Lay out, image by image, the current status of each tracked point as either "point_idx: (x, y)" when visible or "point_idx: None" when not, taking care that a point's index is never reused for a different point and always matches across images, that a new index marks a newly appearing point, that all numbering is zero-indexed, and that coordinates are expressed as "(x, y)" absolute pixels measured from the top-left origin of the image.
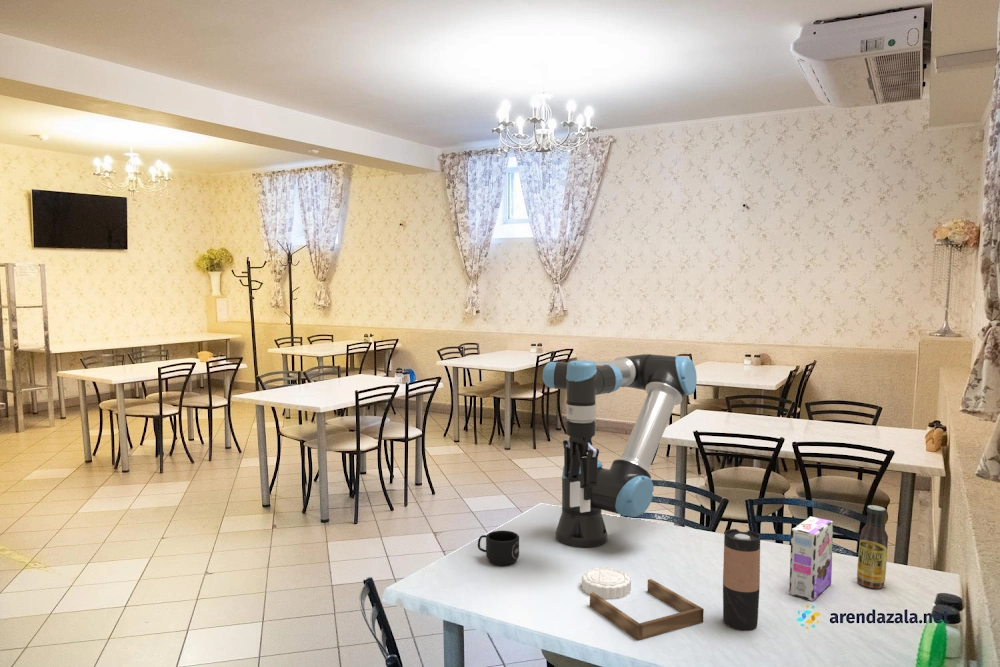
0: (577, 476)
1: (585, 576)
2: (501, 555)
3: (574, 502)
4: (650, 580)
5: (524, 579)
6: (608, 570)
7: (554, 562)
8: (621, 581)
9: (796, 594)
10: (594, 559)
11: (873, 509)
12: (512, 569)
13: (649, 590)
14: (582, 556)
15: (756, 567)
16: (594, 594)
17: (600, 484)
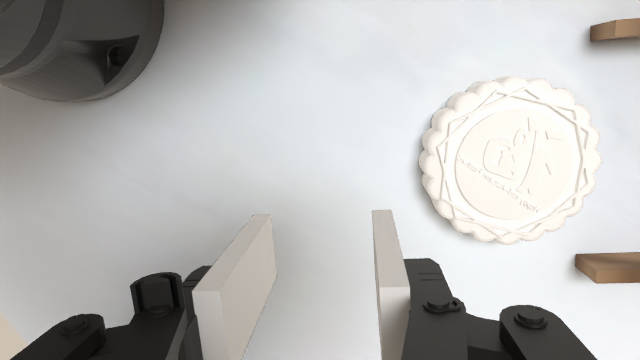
0: (181, 340)
1: (471, 226)
2: None
3: (268, 265)
4: (626, 30)
5: (330, 340)
6: (476, 132)
7: (246, 203)
8: (582, 142)
9: None
10: (270, 63)
11: None
12: (252, 338)
13: (606, 39)
14: (231, 89)
15: None
16: (613, 276)
17: None
